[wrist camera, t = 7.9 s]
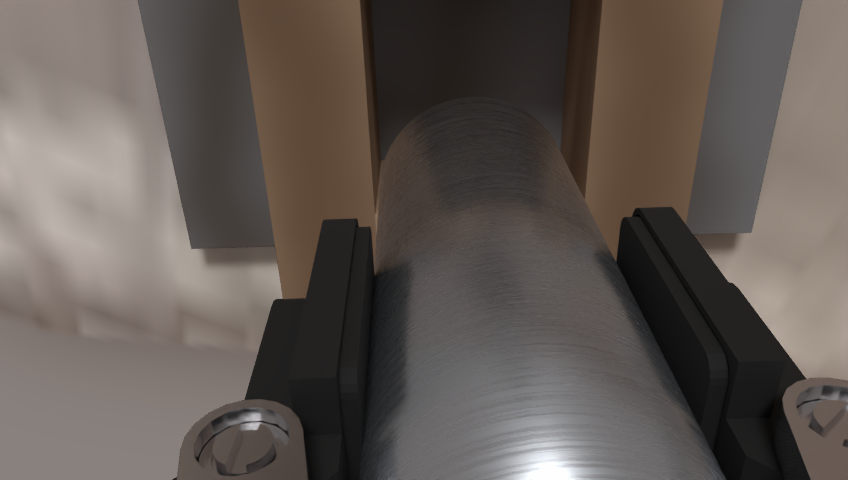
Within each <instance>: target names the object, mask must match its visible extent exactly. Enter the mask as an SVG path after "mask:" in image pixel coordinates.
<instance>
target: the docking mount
mask: <svg viewBox="0 0 848 480" xmlns="http://www.w3.org/2000/svg"><path fill="white" fill-rule="evenodd" d="M138 4H139V9H140V13H141V18H142V22H143V27H144V32H145V36H146V41H147V46H148V50H149V55H150V59H151V64H152V69H153V73H154V78H155V82H156V87H157V92H158V96H159V101H160V106H161V110H162V115H163V119H164V124H165V129H166V133H167V138H168V142H169V147H170V152H171V156H172V161H173V166H174V170H175V175H176V179H177V184H178V189H179V193H180V198H181V202H182V207H183V212H184V216H185V221H186V226H187V230H188V235H189V239H190V244H191V249H199V248H234V247H269V246H275V249H276V256H277V262H278V269H279V275H280V282H281V289H282V295H283V299H295V298H306V295H307V290H308V286H309V281H310V276H311V272H312V267H313V263H314V258H315V254H316V249H317V244H318V240H319V235H320V231H321V226H322V222H323V220H326V219H353V218H357V220H358V225H359V227H371V233H372V246H373V260H374V263H375V249H376V235H377V222H378V208H379V194H380V180H381V173H382V167H383V164H384V160H385V157H386V155H387V153H388V150H389V148H390V146H391V145H392V143H393V141H394V140H395V138H396V137H397V135H398V134H399V133H400V132H401V131H402V130H403V128H404V127H405V126H406V125H407V124H408V123H410V122H411V121H412V120H413V119H414V118H415V117H417V116H418V115H420V114H421V113H423V112H424V111H426V110H428V109H430V108H432V107H434V106H436V105H439V104H441V103H444V102H447V101H451V100H455V99H459V98H469V97H486V98H492V99H498V100H502V101H505V102H508V103H511V104H513V105H516V106H518V107H520V108H522V109H524V110H525V111H527V112H528V113H530V114H532V115H533V116H534V117H535V118H536V119H538V120H539V121H540V122H541V123H542V124H543V125H544V126H545V128H546V129H547V130H548V131H549V133H550V134H551V136H552V137H553V139H554V140H555V142H556V144H557V146H558V148H559V150H560V152H561V154H562V156H563V158H564V160H565V162H566V164H567V166H568V168H569V170H570V172H571V174H572V176H573V178H574V180H575V182H576V184H577V186H578V188H579V189H580V191H581V193H582V195H583V197H584V199H585V201H586V203H587V205H588V207H589V209H590V211H591V213H592V215H593V217H594V219H595V221H596V223H597V225H598V227H599V229H600V231H601V233H602V235H603V237H604V239H605V241H606V243H607V245H608V247H609V249H610V251H611V253H612V255H613V257H614V259H615V261H616V259H617V250H618V242H619V233H620V225H621V221H622V219H623V218H624V217H632V214H633V212H634V210H635V209H636V208H648V207H673V208H674V209H675V210H676V212H677V213H678V215H679V216H680V217H681V219H682V220H683V221H684V223H685V224H686V225H687V227H688V228H689V229H690V231H691V232H692V234H719V233H751V232H752V228H753V223H754V218H755V214H756V209H757V205H758V200H759V196H760V191H761V187H762V182H763V177H764V173H765V168H766V164H767V159H768V155H769V150H770V146H771V141H772V137H773V132H774V127H775V123H776V118H777V114H778V109H779V105H780V100H781V96H782V91H783V86H784V82H785V77H786V73H787V68H788V64H789V59H790V55H791V50H792V45H793V41H794V36H795V32H796V27H797V23H798V18H799V14H800V9H801V5H802V0H138Z"/></svg>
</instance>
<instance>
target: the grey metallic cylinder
mask: <svg viewBox="0 0 848 480" xmlns="http://www.w3.org/2000/svg"><path fill="white" fill-rule="evenodd" d="M374 273H375V279H374V293H373V307H372V322H371V336H370V350H369V364H368V379H367V393H366V407H365V422H364V436H363V449H362V454H361V460H360V469H359V480H726V478H725V476H724V474H723V472H722V470H721V468H720V466H719V464H718V462H717V460H716V458H715V456H714V454H713V452H712V450H711V448H710V446H709V445H708V443H707V441H706V439H705V437H704V435H703V433H702V431H701V429H700V427H699V425H698V423H697V421H696V419H695V417H694V415H693V413H692V411H691V409H690V407H689V405H688V403H687V401H686V399H685V397H684V395H683V393H682V391H681V389H680V387H679V385H678V383H677V381H676V379H675V377H674V375H673V373H672V371H671V369H670V367H669V365H668V363H667V361H666V359H665V358H664V356H663V354H662V352H661V350H660V348H659V346H658V344H657V342H656V340H655V338H654V336H653V334H652V332H651V330H650V328H649V326H648V324H647V322H646V320H645V318H644V316H643V314H642V312H641V310H640V308H639V306H638V304H637V302H636V300H635V298H634V296H633V294H632V292H631V290H630V288H629V286H628V284H627V282H626V280H625V278H624V276H623V274H622V273H621V271H620V269H619V267H618V265H617V263H616V261H615V259H614V257H613V255H612V253H611V251H610V249H609V247H608V245H607V243H606V241H605V239H604V237H603V235H602V233H601V231H600V229H599V227H598V225H597V223H596V221H595V219H594V217H593V215H592V213H591V211H590V209H589V207H588V205H587V203H586V201H585V199H584V197H583V195H582V193H581V191H580V189H579V188H578V186H577V184H576V182H575V180H574V178H573V176H572V174H571V172H570V170H569V168H568V166H567V164H566V162H565V160H564V158H563V156H562V154H561V152H560V150H559V148H558V146H557V144H556V142H555V140H554V139H553V137H552V136H551V134H550V133H549V131H548V130H547V129H546V128H545V126H544V125H543V124H542V123H541V122H540V121H539V120H538V119H536V118H535V117H534V116H533V115H532V114H530V113H528V112H527V111H525V110H524V109H522V108H520V107H518V106H516V105H513V104H511V103H508V102H505V101H502V100H498V99H492V98H486V97H469V98H459V99H455V100H451V101H447V102H444V103H441V104H439V105H436V106H434V107H432V108H430V109H428V110H426V111H424V112H423V113H421V114H420V115H418V116H417V117H415V118H414V119H413V120H412V121H411V122H410V123H408V124H407V125H406V126H405V127H404V128H403V130H402V131H401V132H400V133H399V134H398V135H397V137H396V138H395V140H394V141H393V143H392V145H391V146H390V148H389V150H388V153H387V155H386V157H385V160H384V164H383V167H382V173H381V180H380V194H379V208H378V222H377V235H376V249H375V263H374Z"/></svg>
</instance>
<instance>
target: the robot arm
mask: <svg viewBox="0 0 848 480" xmlns="http://www.w3.org/2000/svg"><path fill="white" fill-rule="evenodd" d="M616 263H617V265H618V267H619V269H620V271H621V273H622V274H623V276H624V278H625V280H626V282H627V284H628V286H629V288H630V290H631V292H632V294H633V296H634V298H635V300H636V302H637V304H638V306H639V308H640V310H641V312H642V314H643V316H644V318H645V320H646V322H647V324H648V326H649V328H650V330H651V332H652V334H653V336H654V338H655V340H656V342H657V344H658V346H659V348H660V350H661V352H662V354H663V356H664V358H665V359H666V361H667V363H668V365H669V367H670V369H671V371H672V373H673V375H674V377H675V379H676V381H677V383H678V385H679V387H680V389H681V391H682V393H683V395H684V397H685V399H686V401H687V403H688V405H689V407H690V409H691V411H692V413H693V415H694V417H695V419H696V421H697V423H698V425H699V427H700V429H701V431H702V433H703V435H704V437H705V439H706V441H707V443H708V445H709V446H710V448H711V450H712V452H713V454H714V456H715V458H716V460H717V462H718V464H719V466H720V468H721V470H722V472H723V474H724V476H725V478H726V480H848V381H846V380H840V379H834V378H809V379H806V378H805V377H804V375H803V374H802V373H801V371H800V370H799V369H798V367H797V366H796V365H795V363H794V362H793V361H792V359H791V358H790V357H789V355H788V354H787V353H786V351H785V350H784V349H783V347H782V346H781V345H780V343H779V342H778V341H777V339H776V338H775V337H774V335H773V334H772V333H771V331H770V330H769V329H768V327H767V326H766V325H765V323H764V322H763V321H762V319H761V318H760V317H759V315H758V314H757V313H756V311H755V310H754V309H753V307H752V306H751V305H750V303H749V302H748V301H747V299H746V298H745V297H744V295H743V294H742V293H741V291H740V290H739V289H738V288H737V287H736V286H735V285H734V284H733V283H729V282H728V281H727V280H726V278H725V277H724V276H723V274H722V273H721V272H720V270H719V269H718V267H717V266H716V265H715V263H714V262H713V261H712V259H711V258H710V257H709V255H708V254H707V253H706V251H705V250H704V248H703V247H702V246H701V244H700V243H699V242H698V240H697V239H696V238H695V236H694V235H693V234H692V232H691V231H690V229H689V228H688V227H687V225H686V224H685V223H684V221H683V220H682V219H681V217H680V216H679V215H678V213H677V212H676V210H675V209H674V208H673V207H648V208H636V209H635V210H634V212H633V214H632V217H624V218H623V219H622V221H621V225H620V233H619V242H618V250H617V259H616ZM374 279H375V273H374V260H373V246H372V233H371V227H359V225H358V220H357V218H353V219H326V220H323V222H322V226H321V231H320V235H319V240H318V244H317V249H316V254H315V258H314V263H313V267H312V272H311V276H310V281H309V286H308V290H307V295H306V298H295V299H276V300H274V302H273V304H272V307H271V310H270V314H269V317H268V321H267V324H266V327H265V331H264V334H263V338H262V341H261V345H260V348H259V352H258V355H257V359H256V362H255V366H254V369H253V373H252V376H251V380H250V383H249V386H248V390H247V394H246V397H245V400H242V401H238V402H234V403H230V404H226V405H224V406H222V407H220V408H218V409H216V410H214V411H211V412H209V413H208V414H206V415H205V416H204V417H203V418H201V419H200V420H199V421H198V422H196V423H195V424H194V425H193V426H192V428H191V429H190V430H189V432H188V433H187V434H186V436H185V437H184V440H183V443H182V446H181V449H180V456H179V465H178V474H177V477H176V478H174V479H173V480H359V469H360V460H361V454H362V449H363V436H364V422H365V407H366V393H367V379H368V364H369V350H370V336H371V322H372V307H373V293H374Z"/></svg>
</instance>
